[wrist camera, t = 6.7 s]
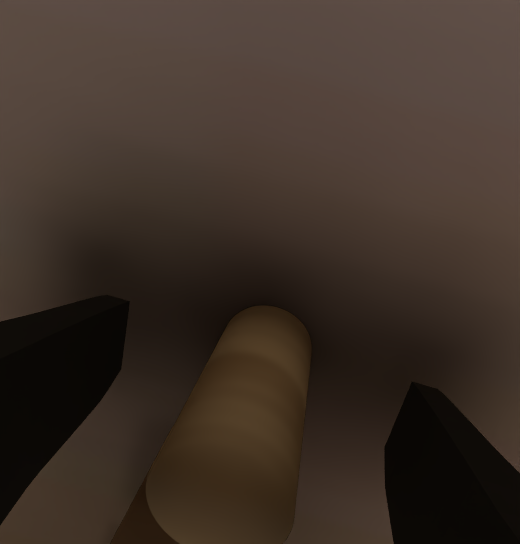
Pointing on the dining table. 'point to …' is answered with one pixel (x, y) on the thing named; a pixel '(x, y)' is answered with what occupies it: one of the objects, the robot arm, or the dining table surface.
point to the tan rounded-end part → (232, 442)
